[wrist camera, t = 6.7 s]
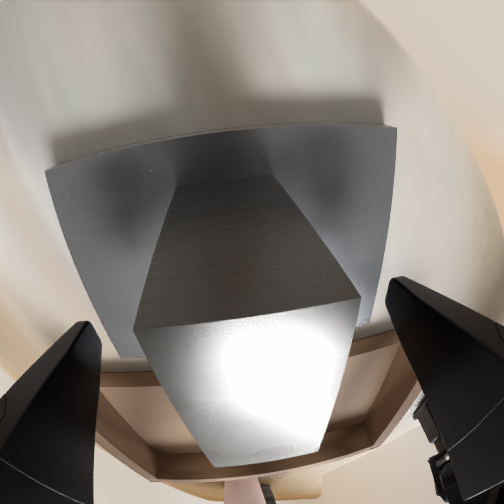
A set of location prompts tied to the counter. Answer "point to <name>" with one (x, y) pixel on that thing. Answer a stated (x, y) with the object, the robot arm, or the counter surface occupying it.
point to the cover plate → (143, 196)
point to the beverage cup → (267, 494)
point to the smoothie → (243, 492)
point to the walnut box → (201, 469)
